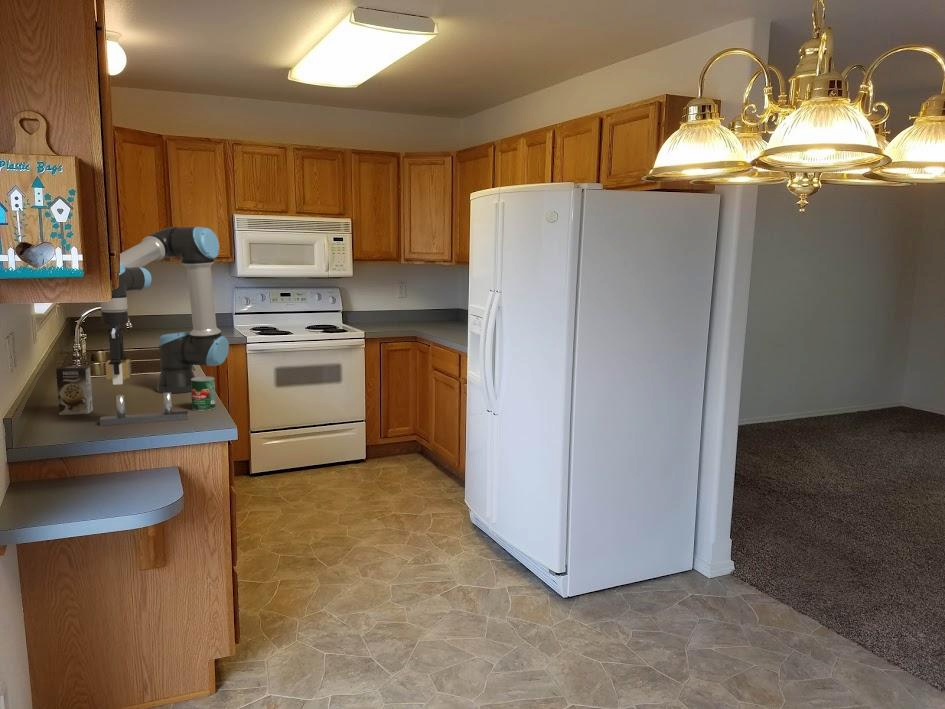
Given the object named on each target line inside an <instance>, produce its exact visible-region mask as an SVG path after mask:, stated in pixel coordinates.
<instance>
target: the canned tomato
mask: <svg viewBox="0 0 945 709" xmlns="http://www.w3.org/2000/svg"><path fill="white" fill-rule="evenodd" d="M191 390H192V391H191V406H192V407H191V408H192V411H194V410H195V412H206V411H205V410H209V411H212V410H211V409H213V410H215V409H216V406H217V405H216V404H217V403H216V402H217V401H216V381H215V377H214V376H195V378H192V379H191ZM214 408H215V409H214Z"/></svg>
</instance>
